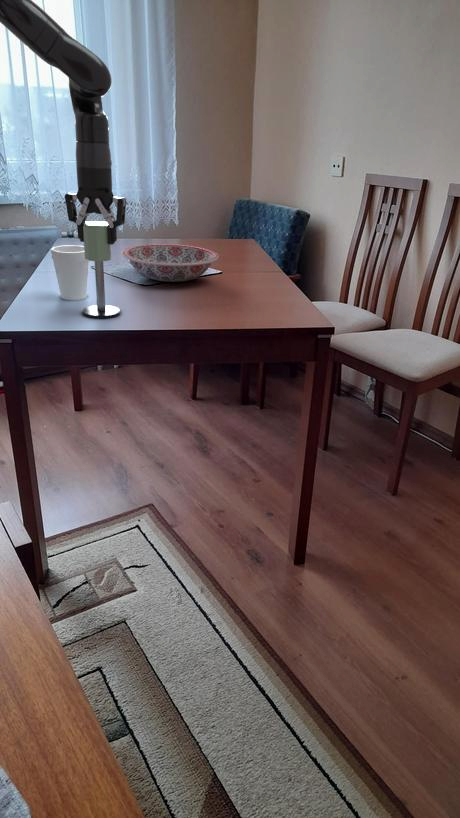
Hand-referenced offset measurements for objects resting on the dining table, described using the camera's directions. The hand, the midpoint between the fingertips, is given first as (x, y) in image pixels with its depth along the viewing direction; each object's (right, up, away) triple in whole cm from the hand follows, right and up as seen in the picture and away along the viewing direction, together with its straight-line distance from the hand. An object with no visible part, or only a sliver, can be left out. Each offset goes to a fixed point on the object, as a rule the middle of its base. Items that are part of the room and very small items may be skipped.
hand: (97, 242), depth 129 cm
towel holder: (-1, -16, +8) cm, 18 cm away
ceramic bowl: (+13, +1, +43) cm, 44 cm away
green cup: (0, -3, +2) cm, 4 cm away
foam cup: (-11, -9, +19) cm, 24 cm away
